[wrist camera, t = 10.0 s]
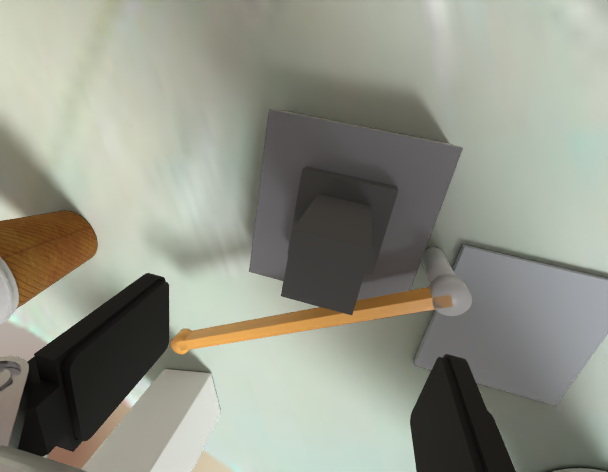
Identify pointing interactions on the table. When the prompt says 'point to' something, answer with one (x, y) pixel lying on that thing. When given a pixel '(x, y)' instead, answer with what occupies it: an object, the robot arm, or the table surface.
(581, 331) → the mat
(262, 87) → the table surface
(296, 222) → the plug
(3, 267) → the disposable coffee cup
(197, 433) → the milk carton
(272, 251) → the socket
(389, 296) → the orange rod with ball
